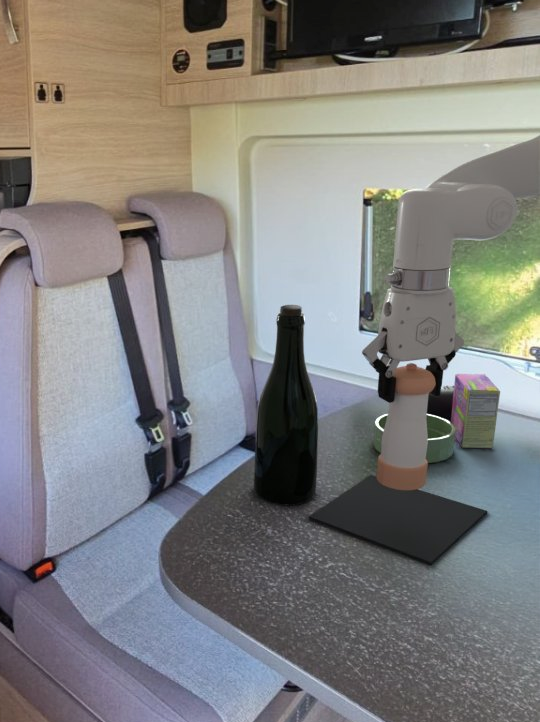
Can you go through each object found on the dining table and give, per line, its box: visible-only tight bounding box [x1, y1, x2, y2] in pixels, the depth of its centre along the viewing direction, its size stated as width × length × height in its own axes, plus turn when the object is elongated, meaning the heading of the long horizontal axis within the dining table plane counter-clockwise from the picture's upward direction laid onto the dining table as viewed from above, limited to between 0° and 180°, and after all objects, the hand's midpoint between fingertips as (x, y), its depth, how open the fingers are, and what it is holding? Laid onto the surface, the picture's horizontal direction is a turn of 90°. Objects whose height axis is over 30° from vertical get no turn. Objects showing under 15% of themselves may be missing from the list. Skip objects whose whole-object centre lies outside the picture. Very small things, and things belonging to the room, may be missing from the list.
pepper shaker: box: [376, 362, 436, 490], centre depth 110 cm, size 7×7×19 cm
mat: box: [308, 474, 488, 566], centre depth 115 cm, size 20×20×1 cm
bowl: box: [372, 413, 456, 464], centre depth 138 cm, size 14×14×5 cm
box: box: [450, 373, 501, 449], centre depth 140 cm, size 10×6×12 cm, turn 168°
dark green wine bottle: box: [253, 304, 319, 506], centre depth 119 cm, size 10×10×33 cm
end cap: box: [427, 385, 454, 421], centre depth 151 cm, size 10×7×7 cm
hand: (409, 395), depth 108 cm, fingers closed on pepper shaker, 7 cm apart
